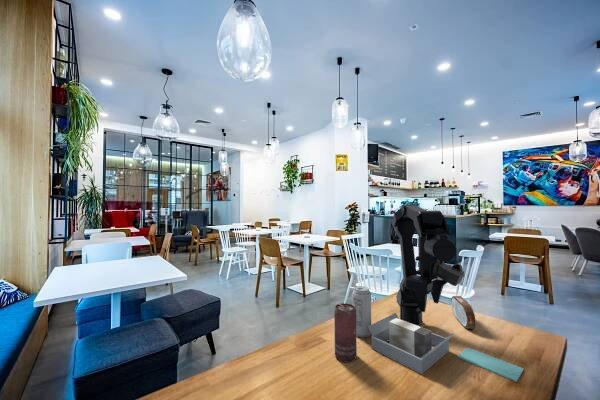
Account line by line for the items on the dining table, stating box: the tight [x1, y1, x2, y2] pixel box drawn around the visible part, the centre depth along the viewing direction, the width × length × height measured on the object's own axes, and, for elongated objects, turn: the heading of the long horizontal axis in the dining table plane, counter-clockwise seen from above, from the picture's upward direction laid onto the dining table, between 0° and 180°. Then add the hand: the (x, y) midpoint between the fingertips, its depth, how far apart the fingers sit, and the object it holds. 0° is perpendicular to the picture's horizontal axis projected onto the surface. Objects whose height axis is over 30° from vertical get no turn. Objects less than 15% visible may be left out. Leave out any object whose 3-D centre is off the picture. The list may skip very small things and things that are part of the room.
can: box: [333, 303, 358, 363], centre depth 75 cm, size 6×6×14 cm
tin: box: [451, 295, 477, 330], centre depth 95 cm, size 15×3×8 cm, turn 168°
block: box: [388, 318, 433, 358], centre depth 78 cm, size 11×4×7 cm, turn 39°
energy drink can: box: [351, 285, 372, 338], centre depth 88 cm, size 6×6×15 cm
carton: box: [368, 312, 455, 375], centre depth 78 cm, size 19×16×6 cm
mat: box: [457, 347, 525, 382], centre depth 71 cm, size 13×7×1 cm, turn 39°
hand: (429, 307), depth 77 cm, fingers open, 9 cm apart
